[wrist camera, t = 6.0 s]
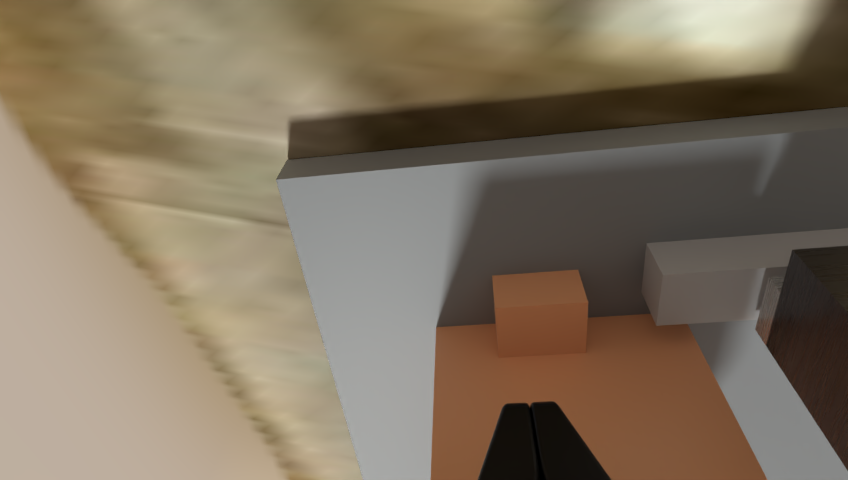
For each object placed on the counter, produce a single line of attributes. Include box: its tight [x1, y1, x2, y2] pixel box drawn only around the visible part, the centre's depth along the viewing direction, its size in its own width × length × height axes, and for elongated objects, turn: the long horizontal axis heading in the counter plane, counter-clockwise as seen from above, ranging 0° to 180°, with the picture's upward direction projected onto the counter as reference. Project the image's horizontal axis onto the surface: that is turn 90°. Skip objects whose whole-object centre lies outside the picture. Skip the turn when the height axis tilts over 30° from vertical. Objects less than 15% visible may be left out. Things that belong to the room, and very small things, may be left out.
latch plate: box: [276, 107, 848, 480], centre depth 15 cm, size 16×13×2 cm
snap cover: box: [431, 270, 767, 480], centre depth 13 cm, size 6×8×5 cm
